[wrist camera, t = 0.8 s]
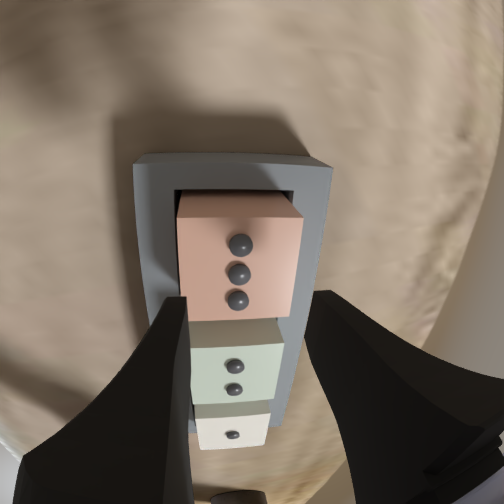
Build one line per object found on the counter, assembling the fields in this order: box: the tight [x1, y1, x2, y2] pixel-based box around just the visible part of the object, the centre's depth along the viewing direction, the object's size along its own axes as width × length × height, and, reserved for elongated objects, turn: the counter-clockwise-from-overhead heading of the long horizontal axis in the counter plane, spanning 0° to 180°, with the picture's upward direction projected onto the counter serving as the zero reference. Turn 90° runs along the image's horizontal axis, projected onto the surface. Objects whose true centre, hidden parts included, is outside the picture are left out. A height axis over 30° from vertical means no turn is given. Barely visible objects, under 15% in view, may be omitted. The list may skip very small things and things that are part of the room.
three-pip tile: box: [177, 189, 304, 321], centre depth 14 cm, size 5×5×4 cm
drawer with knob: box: [194, 399, 271, 450], centre depth 20 cm, size 5×5×4 cm
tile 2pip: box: [188, 317, 284, 404], centre depth 17 cm, size 5×5×4 cm
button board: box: [133, 152, 333, 433], centre depth 19 cm, size 21×9×3 cm, turn 176°
